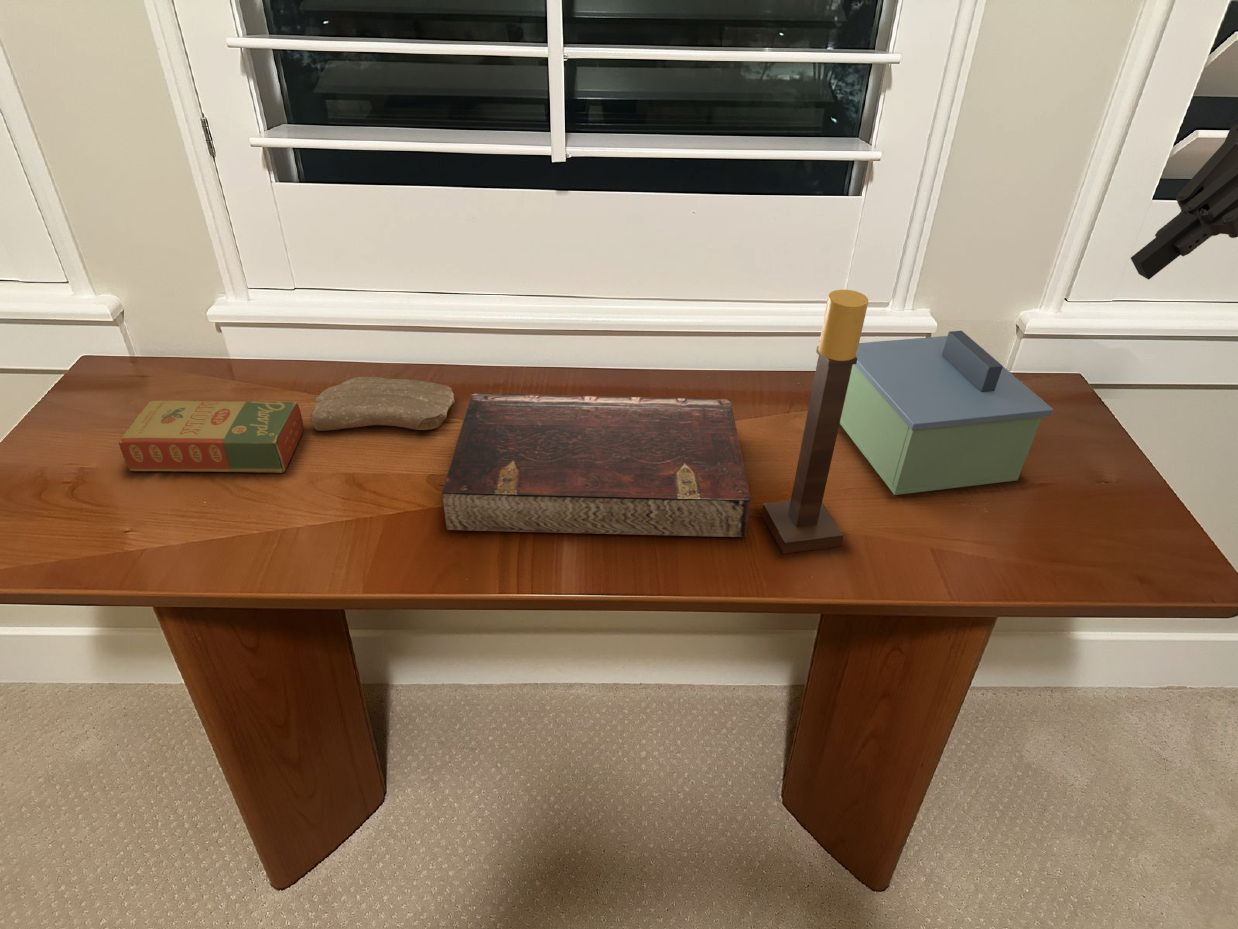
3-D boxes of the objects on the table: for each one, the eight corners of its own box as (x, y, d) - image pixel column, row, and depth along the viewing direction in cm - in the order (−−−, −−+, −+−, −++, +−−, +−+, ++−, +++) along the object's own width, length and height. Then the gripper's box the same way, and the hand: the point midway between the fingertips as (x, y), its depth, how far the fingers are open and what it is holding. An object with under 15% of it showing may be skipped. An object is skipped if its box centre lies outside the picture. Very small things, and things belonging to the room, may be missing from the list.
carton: (161, 429, 93) (150, 397, 90) (306, 430, 94) (299, 398, 91) (129, 474, 86) (115, 440, 84) (285, 474, 87) (276, 440, 84)
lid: (1051, 416, 84) (1064, 384, 82) (911, 430, 81) (921, 397, 79) (964, 340, 97) (973, 310, 95) (841, 350, 94) (847, 320, 92)
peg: (864, 355, 70) (877, 300, 67) (836, 364, 68) (848, 309, 65) (837, 339, 72) (848, 286, 69) (810, 348, 70) (820, 294, 68)
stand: (840, 546, 80) (886, 366, 68) (782, 554, 79) (818, 372, 67) (816, 508, 85) (854, 332, 73) (761, 514, 84) (790, 338, 72)
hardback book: (725, 432, 96) (730, 395, 93) (744, 540, 81) (751, 500, 78) (475, 425, 95) (471, 388, 92) (447, 533, 80) (441, 492, 77)
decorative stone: (449, 437, 93) (446, 411, 91) (310, 436, 93) (303, 410, 91) (461, 391, 101) (459, 366, 99) (333, 390, 101) (327, 365, 99)
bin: (1017, 480, 90) (1044, 414, 85) (894, 495, 87) (913, 427, 82) (943, 404, 102) (962, 342, 97) (833, 415, 99) (846, 352, 94)
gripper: (1431, 141, 76) (1197, 318, 83) (1309, 106, 86) (1110, 266, 93) (1419, 79, 72) (1174, 271, 79) (1293, 50, 82) (1085, 222, 89)
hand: (1139, 268), depth 86 cm, fingers closed
